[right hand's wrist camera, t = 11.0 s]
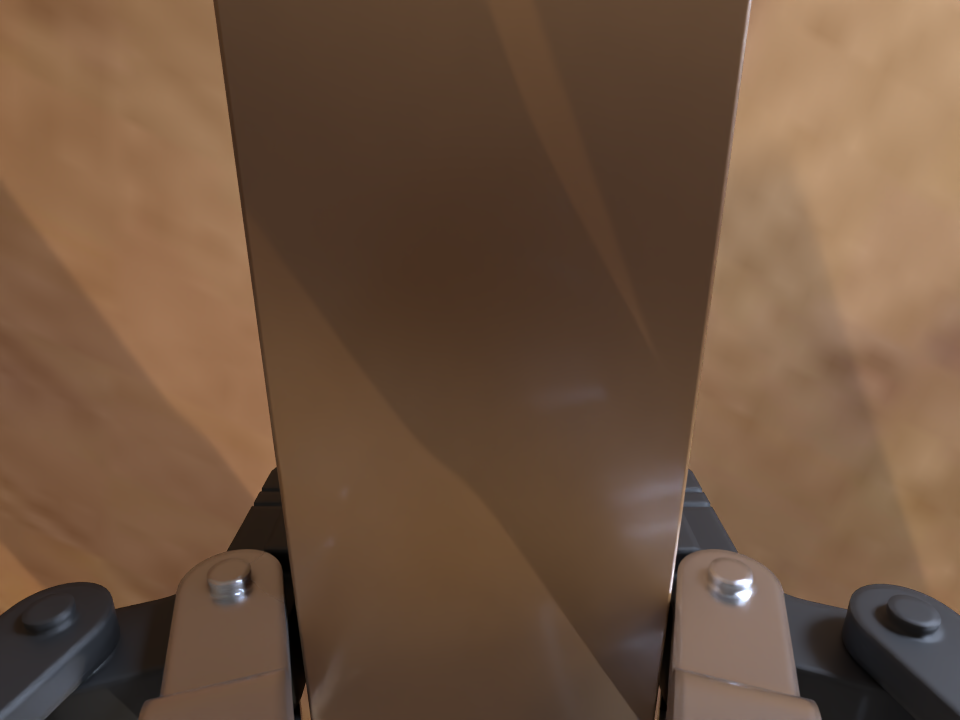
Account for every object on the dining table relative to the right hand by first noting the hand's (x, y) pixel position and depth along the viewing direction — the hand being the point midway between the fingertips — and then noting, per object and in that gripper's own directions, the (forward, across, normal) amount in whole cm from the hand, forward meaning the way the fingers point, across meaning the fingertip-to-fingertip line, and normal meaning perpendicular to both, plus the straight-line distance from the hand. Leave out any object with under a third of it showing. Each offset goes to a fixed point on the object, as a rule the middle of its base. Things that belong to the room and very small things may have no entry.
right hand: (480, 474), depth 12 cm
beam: (+3, 0, -31) cm, 31 cm away
